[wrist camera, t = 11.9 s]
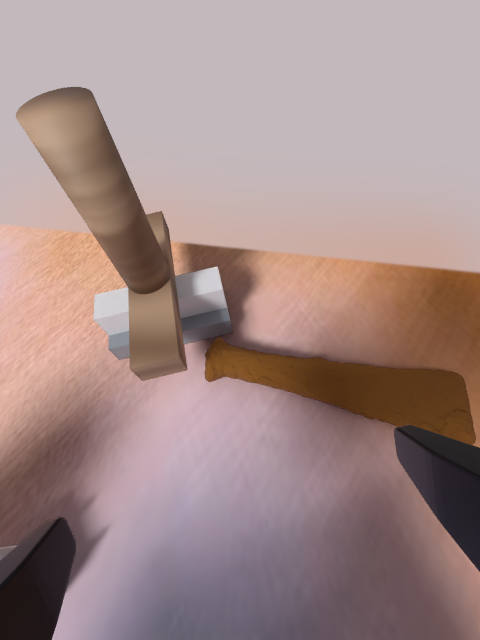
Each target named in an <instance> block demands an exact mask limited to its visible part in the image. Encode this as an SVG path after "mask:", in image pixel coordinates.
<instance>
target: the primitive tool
mask: <svg viewBox="0 0 480 640" xmlns="http://www.w3.org/2000/svg"><path fill="white" fill-rule="evenodd" d="M205 356H206V362H205V368H206V369H205V379H206V380H207V381H209V382H211V381H215V380H217V379H219V378H222V377H230V378H234V379H241V380H244V381H246V382H251V383H258V384H262V385H265V386H270V387H272V388H276V389H281V390H285V391H288V392H293V393H296V394H299V395H301V396H303V397H309V398H312V399H315V400H319V401H322V402H326V403H329V404H332V405H336V406H338V407H340V408H343V409H347V410H349V411H351V412H352V413H354V414H360V415H363V416H365V417H366V418H369V419H378V420H379V421H384V422H388V423H390V424H393V425H395V426H397V427H400V426H403V425H407V424H410V425H414V426H417V427H420V428H423V429H426V430H428V431H431V432H434V433H437V434H440V435H443V436H446V437H449V438H452V439H455V440H458V441H461V442H464V443H467V444H470V445H472V444H474V443H475V440H476V436H475V433H474V428H473V420H472V416H471V413H470V404H469V399H468V394H467V391H466V385H465V382H464V379H463V377H462V376H460V375H459V374H457V373H455V372H447V371H443V370H428V369H394V368H384V367H374V366H369V365H363V364H353V363H339V362H333V361H328V360H326V359H322V358H319V357H314V358H313V357H312V358H308V359H304V358H299V357H293V356H281V355H277V354H269V353H263V352H258V351H255V350H248V349H244V348H239V347H235V346H232V345H229V344H228V343H226V342H225V341H224V340H222V338H221V337H217V338H216V339H215V340H214V341H213V343H212V344H211V345H210V347H209V349H208V350H207V352H206V354H205Z"/></svg>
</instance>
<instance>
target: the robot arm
mask: <svg viewBox="0 0 480 640" xmlns="http://www.w3.org/2000/svg"><path fill="white" fill-rule="evenodd" d="M394 437H395V445H396V452H397V456H398V459H399V461H400V463H401V465H402V466H403V468H404V469H405V471H406V472H407V474H408V475H409V477H410V478H411V480H412V481H413V483H414V484H415V486H416V487H417V489H418V490H419V492H420V493H421V495H422V496H423V498H424V499H425V501H426V503H427V504H428V506H429V507H430V509H431V510H432V511H433V513H434V514H435V516H436V517H437V519H438V520H439V521H440V523H441V524H442V525H443V526H444V528H445V529H446V530H447V532H448V533H449V534H450V535H451V537H452V538H453V539H454V540H455V542H456V543H457V544H458V545H459V547H460V548H461V549H462V550H463V552H464V553H465V554H466V555H467V557H468V558H469V559H470V560H471V562H472V563H473V564H474V565H475V567H476V568H477V569H478V570H479V572H480V448H479V447H476V446H473V445H470V444H467V443H464V442H461V441H458V440H455V439H452V438H449V437H446V436H443V435H440V434H437V433H434V432H431V431H428V430H426V429H423V428H420V427H417V426H414V425H410V424H407V425H403V426H400V427H396V428H395V429H394ZM75 552H76V541H75V538H74V536H73V534H72V531H71V529H70V527H69V525H68V522H67V520H66V519H65V518H64V517H58V518H54V519H50V520H47V521H45V522H44V523H43V524H42V525H40V526H39V527H38V528H37V529H36V530H35V531H34V532H32V533H31V534H30V535H29V536H28V537H27V538H25V539H24V540H23V541H22V542H21V543H20V544H18V545H17V546H16V547H15V548H14V549H13V550H12V551H10V552H9V553H8V554H7V555H6V556H5V557H3V558H2V559H1V560H0V640H52V637H53V634H54V631H55V628H56V625H57V621H58V618H59V614H60V610H61V607H62V603H63V599H64V595H65V591H66V587H67V583H68V579H69V576H70V572H71V568H72V564H73V560H74V556H75Z"/></svg>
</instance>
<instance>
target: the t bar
mask: <svg viewBox="0 0 480 640" xmlns="http://www.w3.org/2000/svg"><path fill="white" fill-rule="evenodd" d="M16 118H17V120H18V121H19V123H20V124H21V126H22V127H23V129H24V130H25V132H26V133H27V135H28V136H29V138H30V139H31V141H32V142H33V144H34V146H35V147H36V149H37V150H38V152H39V153H40V155H41V156H42V158H43V159H44V161H45V162H46V164H47V165H48V167H49V168H50V170H51V171H52V173H53V174H54V176H55V177H56V179H57V180H58V182H59V183H60V185H61V186H62V188H63V189H64V191H65V192H66V194H67V195H68V197H69V198H70V200H71V201H72V203H73V204H74V206H75V207H76V209H77V211H78V212H79V214H80V215H81V217H82V218H83V220H84V221H85V223H86V224H87V226H88V227H89V229H90V230H91V232H92V233H93V235H94V236H95V238H96V239H97V241H98V242H99V244H100V245H101V247H102V248H103V250H104V251H105V253H106V254H107V256H108V257H109V259H110V260H111V262H112V263H113V265H114V266H115V268H116V269H117V271H118V272H119V274H120V275H121V277H122V278H123V280H124V281H125V283H126V284H127V286H128V301H129V349H130V370H131V371H132V372H134V373H135V374H136V375H137V376H138V377H139V378H140V379H141V380H142V381H144V380H149V379H153V378H157V377H161V376H165V375H169V374H173V373H177V372H181V371H186V370H187V364H186V356H185V349H184V341H183V334H182V326H181V319H180V311H179V304H178V296H177V289H176V281H175V274H174V266H173V258H172V251H171V243H170V236H169V229H168V226H167V224H166V221H165V219H164V216H163V213H162V211H160V212H156V213H152V214H147V215H146V214H145V212H144V209H143V207H142V205H141V203H140V200H139V198H138V196H137V193H136V191H135V189H134V187H133V184H132V182H131V180H130V178H129V175H128V173H127V171H126V168H125V166H124V164H123V162H122V159H121V157H120V155H119V153H118V150H117V148H116V146H115V143H114V141H113V139H112V137H111V134H110V132H109V130H108V127H107V125H106V123H105V121H104V118H103V116H102V114H101V112H100V110H99V107H98V105H97V103H96V100H95V98H94V96H93V94H92V92H91V91H90V90H88V89H86V88H81V87H68V88H61V89H57V90H53V91H49V92H46V93H43V94H41V95H39V96H37V97H34V98H32V99H31V100H29V101H28V102H26V103H25V104H24V105H22V106H21V107H20V108H19V110H18V111H17V113H16Z"/></svg>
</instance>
